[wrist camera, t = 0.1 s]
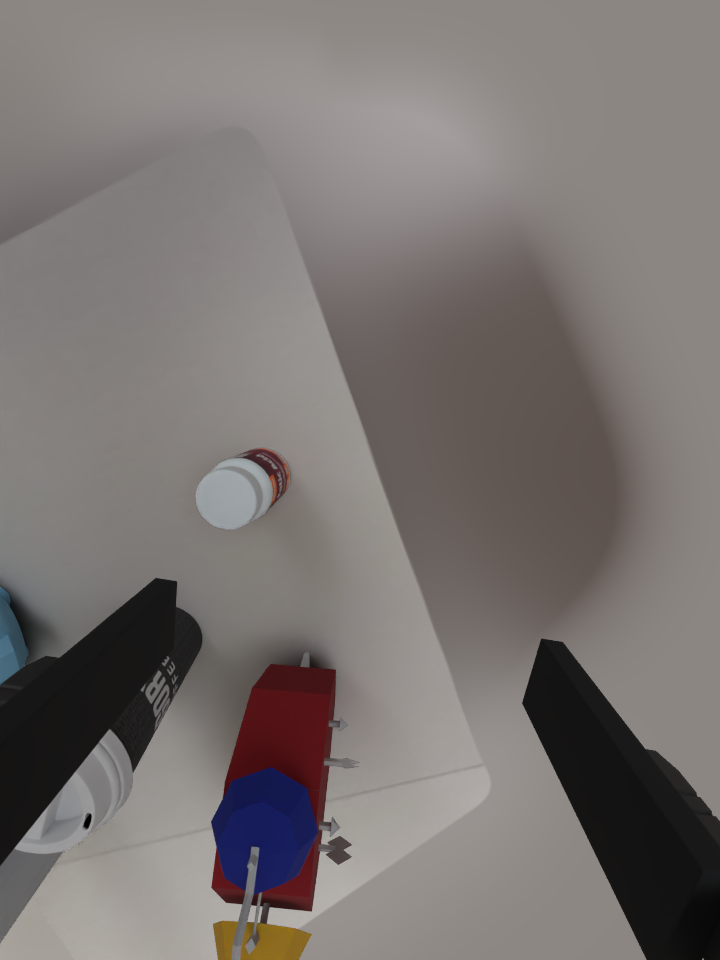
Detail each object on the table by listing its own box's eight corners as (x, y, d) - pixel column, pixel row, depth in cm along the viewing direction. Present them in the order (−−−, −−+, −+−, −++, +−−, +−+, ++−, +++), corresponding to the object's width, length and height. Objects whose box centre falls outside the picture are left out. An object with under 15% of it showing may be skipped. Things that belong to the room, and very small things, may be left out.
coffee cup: (178, 695, 37) (50, 889, 22) (100, 635, 36) (-88, 799, 21) (238, 635, 35) (142, 803, 21) (159, 570, 34) (-2, 700, 20)
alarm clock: (274, 627, 35) (151, 917, 16) (366, 635, 35) (357, 938, 15) (271, 754, 38) (165, 1126, 19) (355, 762, 38) (335, 1145, 19)
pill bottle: (301, 486, 32) (276, 516, 24) (254, 509, 33) (214, 547, 24) (273, 436, 31) (238, 450, 23) (226, 462, 32) (174, 484, 24)
